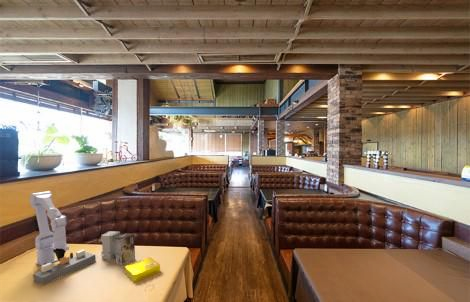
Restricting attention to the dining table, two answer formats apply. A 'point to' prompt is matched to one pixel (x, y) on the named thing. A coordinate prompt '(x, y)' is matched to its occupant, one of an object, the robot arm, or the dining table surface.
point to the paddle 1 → (46, 267)
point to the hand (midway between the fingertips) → (60, 260)
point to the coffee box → (124, 249)
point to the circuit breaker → (109, 244)
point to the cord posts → (70, 257)
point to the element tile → (142, 269)
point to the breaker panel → (63, 269)
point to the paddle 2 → (80, 253)
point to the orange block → (64, 260)
